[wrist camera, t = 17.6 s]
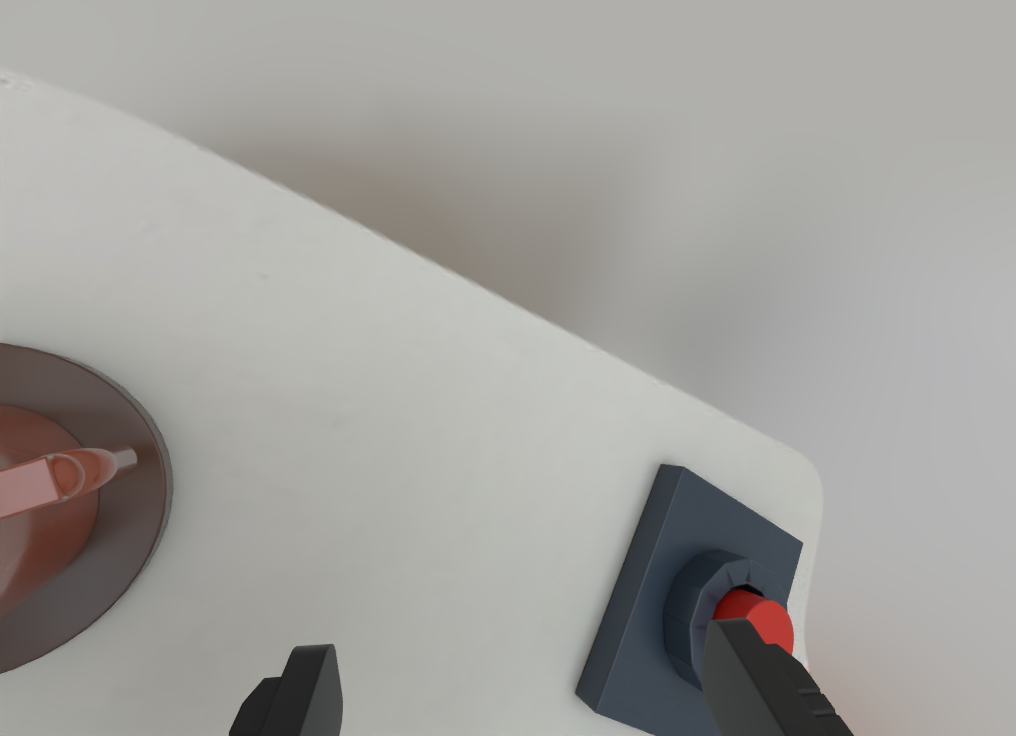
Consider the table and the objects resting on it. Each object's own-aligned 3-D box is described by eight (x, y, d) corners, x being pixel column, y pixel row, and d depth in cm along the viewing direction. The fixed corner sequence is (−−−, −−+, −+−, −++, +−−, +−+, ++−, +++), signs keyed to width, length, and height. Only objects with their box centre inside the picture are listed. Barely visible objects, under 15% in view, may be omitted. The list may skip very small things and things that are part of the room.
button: (722, 577, 24) (753, 589, 22) (769, 604, 25) (802, 616, 24) (698, 653, 23) (729, 671, 21) (749, 677, 24) (781, 695, 23)
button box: (661, 463, 27) (711, 469, 24) (777, 536, 30) (835, 550, 27) (574, 693, 24) (620, 736, 21) (715, 748, 27) (773, 792, 24)
